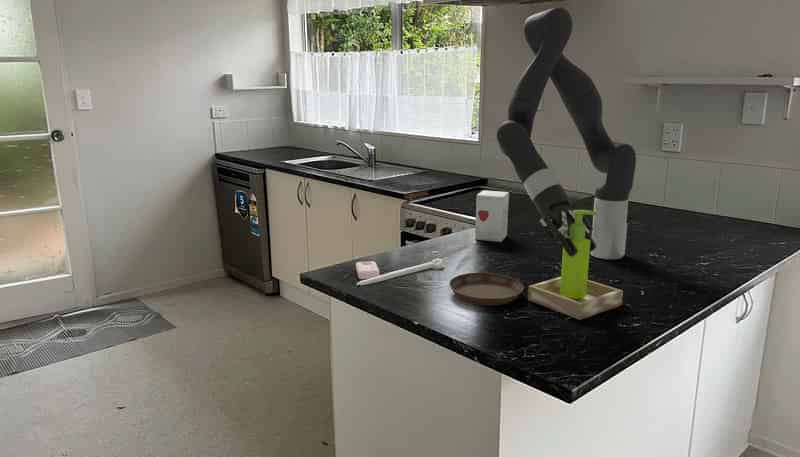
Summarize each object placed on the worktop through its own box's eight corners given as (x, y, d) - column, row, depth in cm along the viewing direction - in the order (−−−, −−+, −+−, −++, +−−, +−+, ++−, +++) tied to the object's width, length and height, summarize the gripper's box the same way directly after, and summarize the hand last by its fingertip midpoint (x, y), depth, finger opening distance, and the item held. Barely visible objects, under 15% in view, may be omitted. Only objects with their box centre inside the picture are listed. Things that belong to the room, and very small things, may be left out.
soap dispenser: (591, 299, 136) (599, 214, 131) (560, 297, 137) (566, 212, 132) (589, 290, 141) (596, 208, 136) (559, 288, 143) (564, 207, 138)
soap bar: (359, 280, 156) (359, 271, 155) (355, 269, 165) (355, 261, 164) (379, 279, 157) (379, 270, 156) (375, 268, 166) (375, 260, 165)
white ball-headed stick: (363, 290, 149) (363, 280, 148) (354, 286, 152) (354, 275, 151) (447, 269, 165) (447, 259, 165) (437, 265, 168) (437, 255, 168)
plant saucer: (536, 304, 139) (537, 292, 138) (465, 313, 134) (466, 300, 133) (502, 280, 155) (503, 269, 154) (438, 287, 150) (438, 276, 150)
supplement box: (474, 239, 194) (475, 194, 190) (481, 233, 202) (482, 189, 199) (501, 242, 191) (503, 196, 187) (507, 235, 199) (509, 191, 195)
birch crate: (569, 287, 149) (569, 274, 149) (621, 304, 138) (623, 290, 137) (527, 300, 141) (528, 285, 140) (580, 320, 129) (581, 304, 128)
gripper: (534, 186, 134) (574, 248, 128) (575, 180, 143) (614, 238, 136) (516, 205, 140) (552, 266, 134) (556, 198, 148) (593, 255, 142)
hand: (583, 251), depth 135 cm, fingers open, 6 cm apart
